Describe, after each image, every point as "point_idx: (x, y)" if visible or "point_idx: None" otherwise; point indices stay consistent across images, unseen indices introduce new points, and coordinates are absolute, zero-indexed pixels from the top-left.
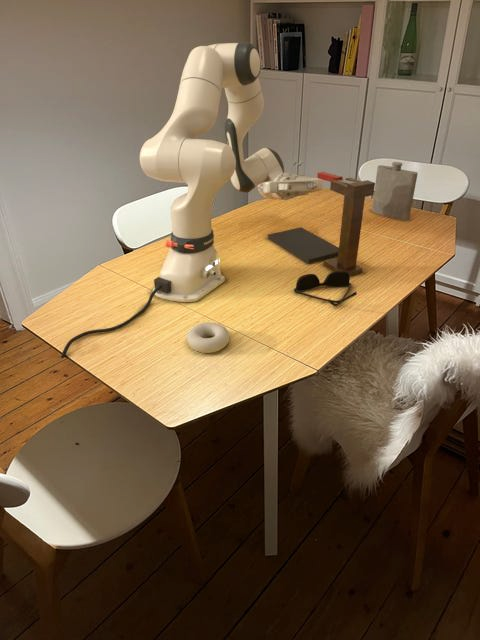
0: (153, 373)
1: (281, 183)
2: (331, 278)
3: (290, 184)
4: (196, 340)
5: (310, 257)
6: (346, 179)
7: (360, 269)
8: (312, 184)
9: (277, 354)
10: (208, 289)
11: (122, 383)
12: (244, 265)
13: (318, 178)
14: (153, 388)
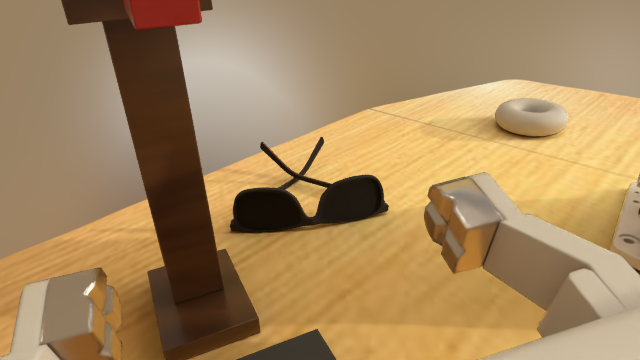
0: (575, 102)
1: (584, 247)
2: (284, 204)
3: (441, 185)
4: (541, 99)
5: (304, 346)
6: None
7: (159, 269)
8: (105, 321)
9: (417, 118)
10: (624, 205)
11: (603, 95)
12: None
13: (197, 20)
14: (559, 93)
